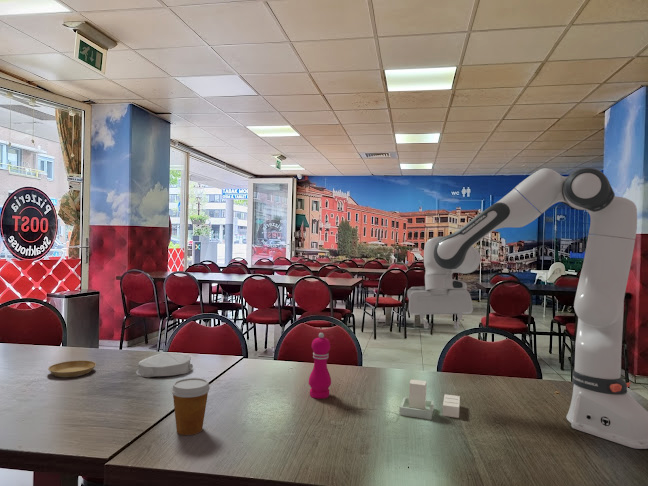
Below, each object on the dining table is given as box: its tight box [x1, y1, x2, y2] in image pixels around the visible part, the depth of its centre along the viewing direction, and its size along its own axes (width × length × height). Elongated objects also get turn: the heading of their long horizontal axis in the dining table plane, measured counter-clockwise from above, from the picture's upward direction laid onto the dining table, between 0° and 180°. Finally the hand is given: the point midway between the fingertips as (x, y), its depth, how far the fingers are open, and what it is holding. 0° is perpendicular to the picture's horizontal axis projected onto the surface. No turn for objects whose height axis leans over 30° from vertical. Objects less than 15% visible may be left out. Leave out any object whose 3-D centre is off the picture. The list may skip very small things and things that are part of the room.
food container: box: [135, 352, 194, 378], centre depth 162 cm, size 20×20×7 cm
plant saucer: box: [47, 360, 97, 378], centre depth 156 cm, size 15×15×3 cm
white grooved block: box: [442, 393, 461, 419], centre depth 130 cm, size 10×4×3 cm, turn 162°
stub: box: [408, 378, 427, 410], centre depth 129 cm, size 4×4×8 cm
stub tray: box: [398, 396, 435, 420], centre depth 129 cm, size 9×9×2 cm
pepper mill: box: [308, 332, 332, 400], centre depth 140 cm, size 7×7×20 cm
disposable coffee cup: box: [170, 377, 211, 436], centre depth 112 cm, size 10×10×12 cm
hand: (441, 328), depth 141 cm, fingers open, 8 cm apart
